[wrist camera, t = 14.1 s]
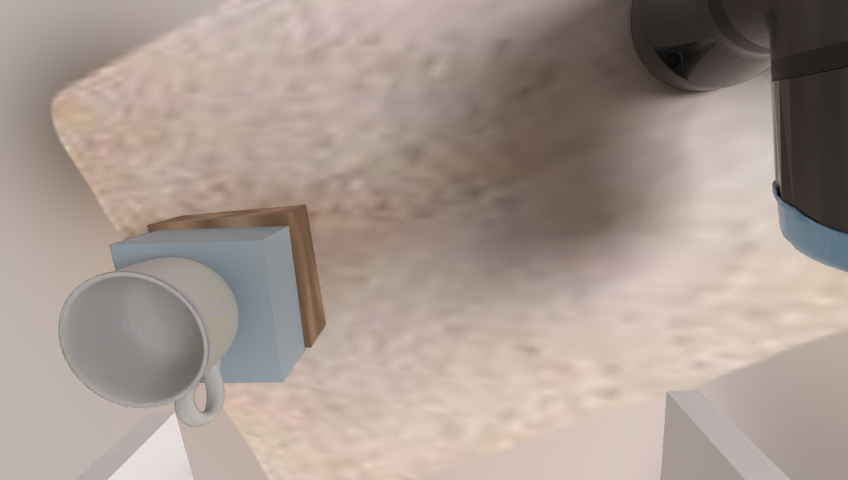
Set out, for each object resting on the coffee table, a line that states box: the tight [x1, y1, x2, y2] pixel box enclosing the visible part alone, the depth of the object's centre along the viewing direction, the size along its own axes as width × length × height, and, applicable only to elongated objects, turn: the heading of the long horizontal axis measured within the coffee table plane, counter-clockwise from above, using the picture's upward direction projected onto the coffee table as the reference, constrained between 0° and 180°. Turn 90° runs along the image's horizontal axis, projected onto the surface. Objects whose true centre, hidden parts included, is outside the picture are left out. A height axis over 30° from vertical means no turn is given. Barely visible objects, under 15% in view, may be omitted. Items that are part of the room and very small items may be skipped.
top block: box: [110, 226, 305, 383], centre depth 39 cm, size 14×14×6 cm
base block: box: [147, 205, 326, 348], centre depth 45 cm, size 15×15×6 cm
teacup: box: [59, 257, 239, 427], centre depth 32 cm, size 14×11×8 cm
